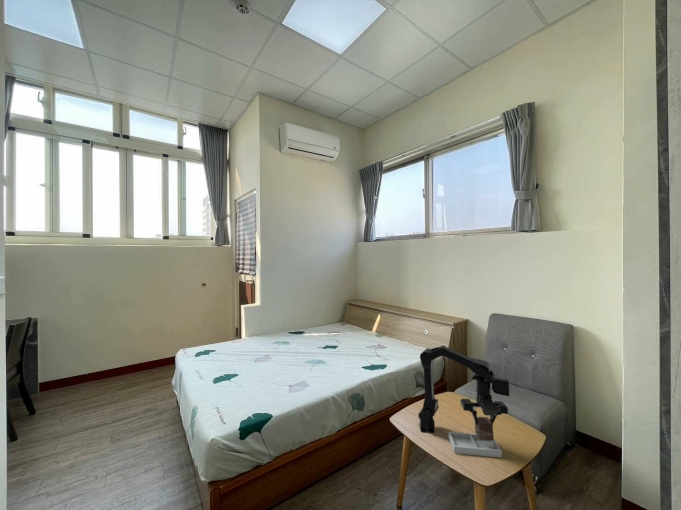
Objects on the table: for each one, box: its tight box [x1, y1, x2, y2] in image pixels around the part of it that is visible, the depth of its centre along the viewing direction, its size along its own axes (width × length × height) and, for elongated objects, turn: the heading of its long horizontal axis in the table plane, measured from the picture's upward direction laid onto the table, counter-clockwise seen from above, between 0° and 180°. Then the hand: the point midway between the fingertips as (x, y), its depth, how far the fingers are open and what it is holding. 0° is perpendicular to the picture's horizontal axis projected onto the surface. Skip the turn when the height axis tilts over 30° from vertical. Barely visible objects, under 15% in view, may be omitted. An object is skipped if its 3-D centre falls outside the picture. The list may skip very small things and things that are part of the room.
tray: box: [447, 431, 503, 458], centre depth 123 cm, size 20×11×3 cm, turn 82°
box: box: [474, 416, 495, 441], centre depth 123 cm, size 6×6×7 cm
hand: (483, 424), depth 123 cm, fingers open, 6 cm apart
